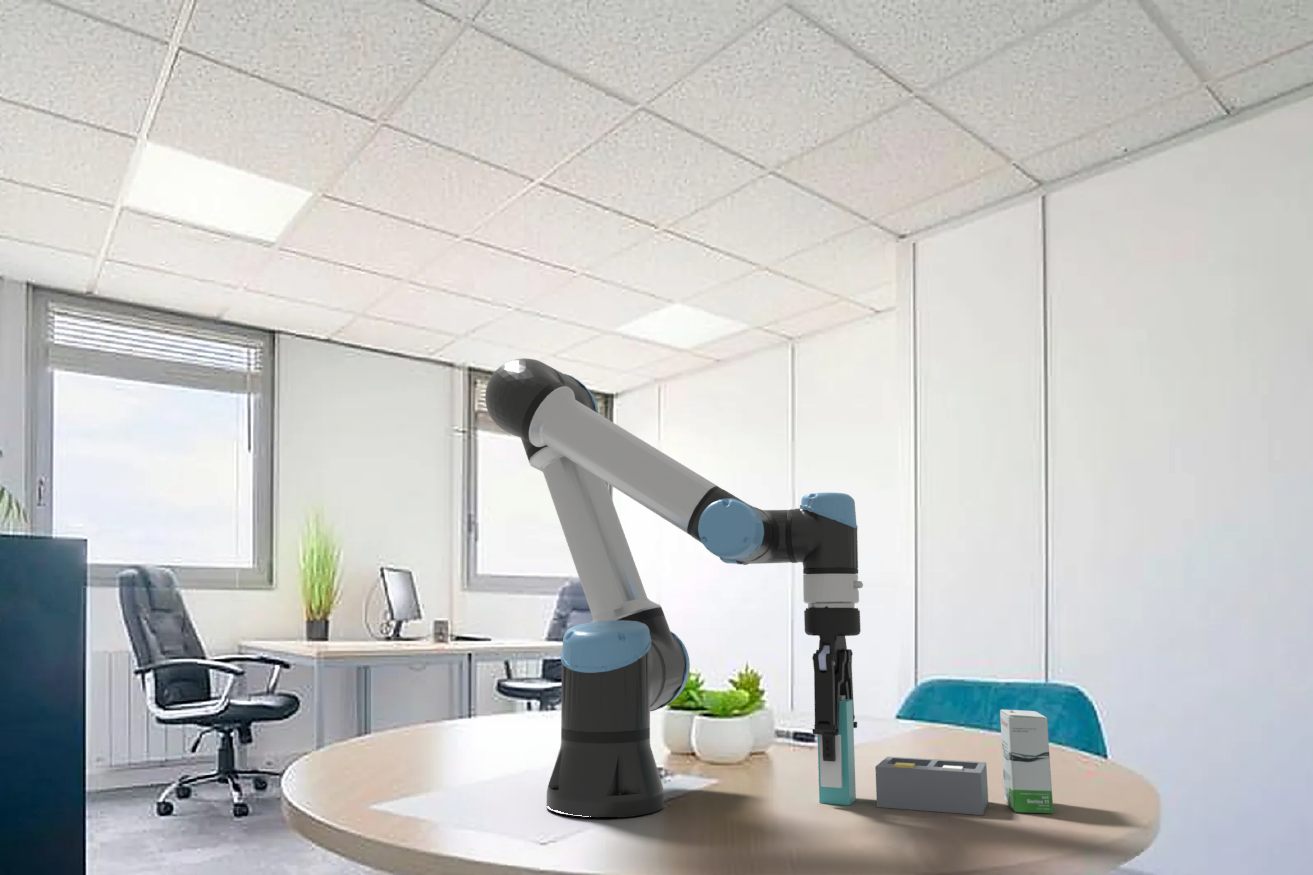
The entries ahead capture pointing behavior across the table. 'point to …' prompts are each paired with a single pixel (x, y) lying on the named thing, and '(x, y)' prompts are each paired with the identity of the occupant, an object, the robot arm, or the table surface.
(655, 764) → the robot arm
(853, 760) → the plug
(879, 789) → the socket block
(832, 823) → the table surface
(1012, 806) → the ink box
